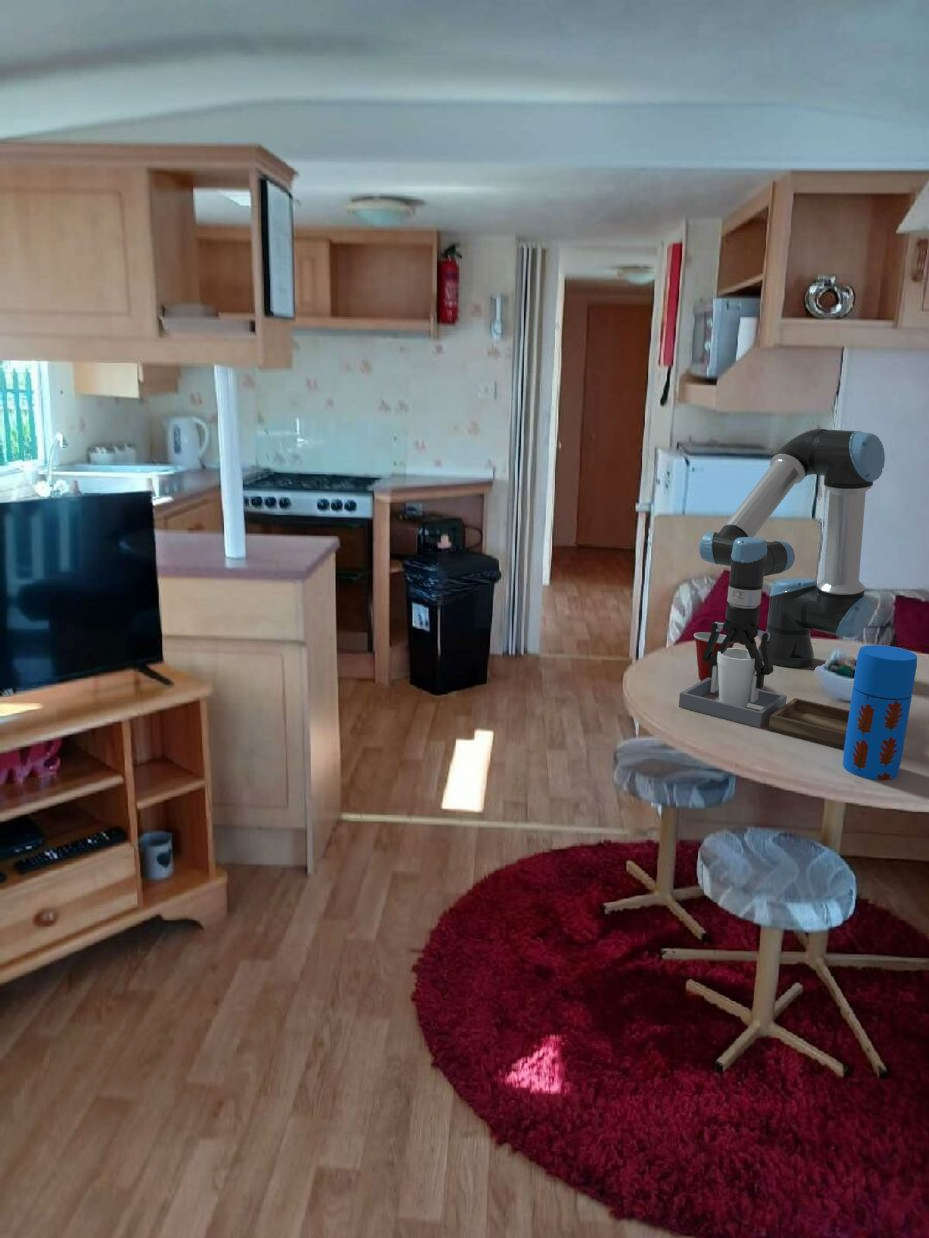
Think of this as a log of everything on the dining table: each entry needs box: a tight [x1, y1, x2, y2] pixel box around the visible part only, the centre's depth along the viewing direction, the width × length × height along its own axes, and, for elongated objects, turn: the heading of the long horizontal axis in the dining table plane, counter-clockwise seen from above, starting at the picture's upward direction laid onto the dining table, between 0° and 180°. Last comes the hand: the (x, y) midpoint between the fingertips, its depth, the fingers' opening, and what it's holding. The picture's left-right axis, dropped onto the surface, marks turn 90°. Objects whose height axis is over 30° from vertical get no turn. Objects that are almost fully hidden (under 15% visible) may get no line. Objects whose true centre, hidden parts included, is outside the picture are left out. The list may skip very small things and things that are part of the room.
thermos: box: [842, 644, 918, 781], centre depth 191 cm, size 11×11×25 cm
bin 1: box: [678, 678, 788, 729], centre depth 226 cm, size 16×20×4 cm
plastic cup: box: [693, 631, 735, 682], centre depth 246 cm, size 11×11×12 cm
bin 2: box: [768, 697, 850, 751], centre depth 213 cm, size 16×20×4 cm
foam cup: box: [717, 647, 756, 708], centre depth 225 cm, size 10×9×13 cm
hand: (733, 695), depth 226 cm, fingers closed on foam cup, 9 cm apart
